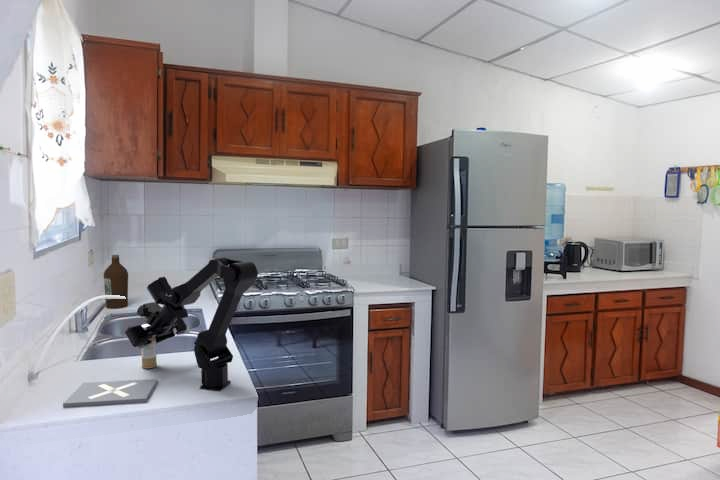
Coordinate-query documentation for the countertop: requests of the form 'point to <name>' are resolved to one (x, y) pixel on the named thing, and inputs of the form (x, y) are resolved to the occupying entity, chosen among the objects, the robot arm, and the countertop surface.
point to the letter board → (111, 392)
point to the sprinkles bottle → (149, 352)
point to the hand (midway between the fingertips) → (145, 345)
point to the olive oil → (116, 283)
